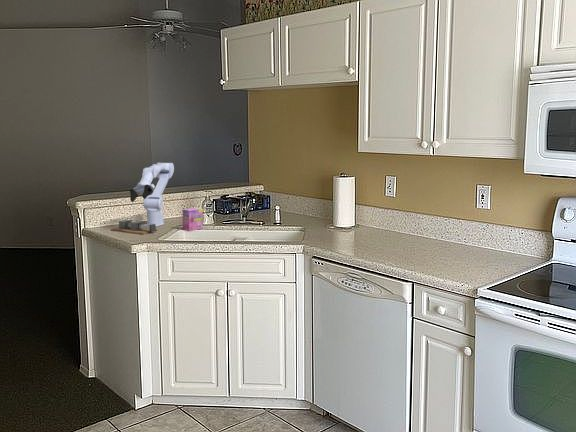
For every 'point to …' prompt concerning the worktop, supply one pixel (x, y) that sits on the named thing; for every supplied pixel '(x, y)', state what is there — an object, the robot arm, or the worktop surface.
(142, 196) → the robot arm
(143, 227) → the shaft
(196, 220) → the box
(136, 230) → the bearing board
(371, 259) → the worktop surface
